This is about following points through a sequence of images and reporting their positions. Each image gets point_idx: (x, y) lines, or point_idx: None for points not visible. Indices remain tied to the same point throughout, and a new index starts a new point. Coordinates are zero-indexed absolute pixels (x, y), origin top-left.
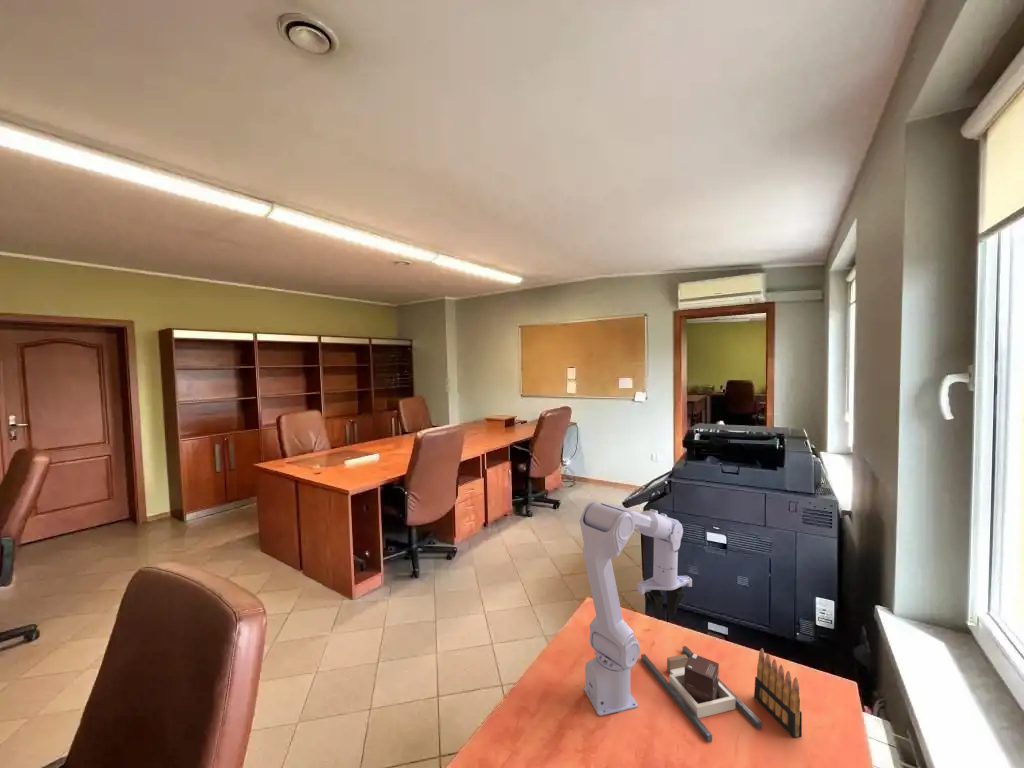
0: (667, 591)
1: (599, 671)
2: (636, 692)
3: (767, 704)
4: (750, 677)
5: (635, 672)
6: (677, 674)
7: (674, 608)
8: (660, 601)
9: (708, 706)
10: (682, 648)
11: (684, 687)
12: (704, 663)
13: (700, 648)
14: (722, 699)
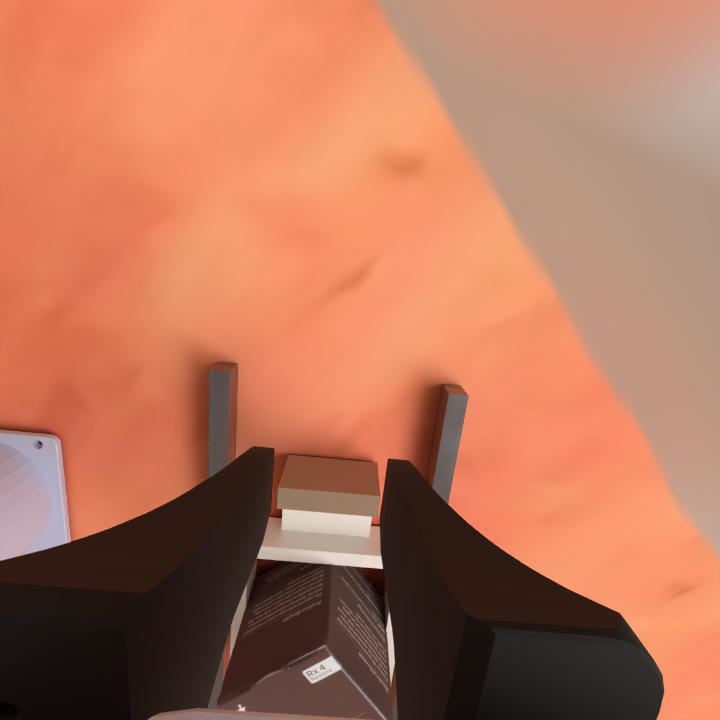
0: (430, 614)
1: None
2: (102, 496)
3: None
4: (570, 575)
5: (153, 413)
6: (268, 552)
7: (391, 608)
8: None
9: None
10: (446, 390)
11: (243, 614)
12: (327, 716)
13: (542, 392)
14: None
